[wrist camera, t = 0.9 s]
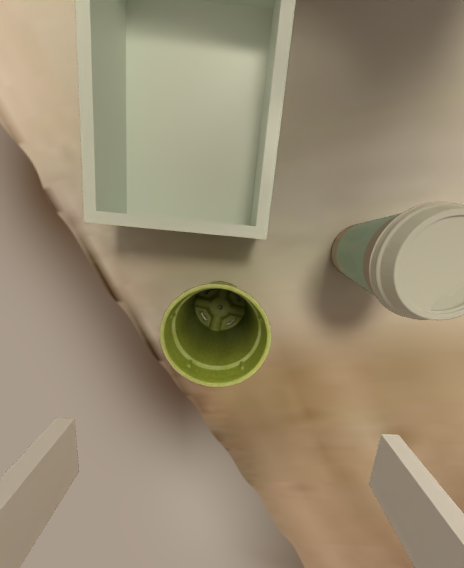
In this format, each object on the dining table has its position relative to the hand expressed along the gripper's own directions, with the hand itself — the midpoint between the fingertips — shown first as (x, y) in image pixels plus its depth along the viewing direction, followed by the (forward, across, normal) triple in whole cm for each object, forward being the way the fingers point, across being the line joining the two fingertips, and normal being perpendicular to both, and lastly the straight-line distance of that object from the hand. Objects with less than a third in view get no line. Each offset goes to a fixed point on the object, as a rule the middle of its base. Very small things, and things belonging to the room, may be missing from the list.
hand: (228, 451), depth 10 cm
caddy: (+19, -5, +19) cm, 27 cm away
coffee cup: (+19, +14, +8) cm, 25 cm away
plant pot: (+19, -1, 0) cm, 19 cm away
